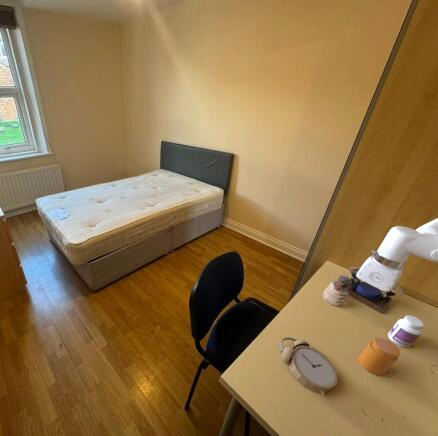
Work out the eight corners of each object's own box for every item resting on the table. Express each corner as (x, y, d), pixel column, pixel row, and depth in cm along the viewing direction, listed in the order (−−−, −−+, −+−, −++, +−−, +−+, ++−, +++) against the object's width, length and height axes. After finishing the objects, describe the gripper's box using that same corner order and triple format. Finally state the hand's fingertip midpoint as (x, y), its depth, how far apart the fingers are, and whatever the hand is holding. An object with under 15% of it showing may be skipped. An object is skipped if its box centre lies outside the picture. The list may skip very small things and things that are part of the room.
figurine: (349, 304, 88) (363, 281, 82) (336, 309, 86) (349, 286, 80) (330, 290, 93) (343, 268, 88) (318, 295, 91) (329, 272, 86)
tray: (390, 302, 88) (393, 298, 87) (381, 313, 84) (384, 309, 83) (349, 281, 98) (351, 277, 97) (340, 290, 93) (342, 286, 92)
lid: (352, 290, 91) (355, 286, 90) (359, 283, 94) (362, 279, 93) (374, 301, 86) (377, 297, 85) (380, 294, 89) (383, 289, 88)
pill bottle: (414, 348, 73) (433, 329, 68) (397, 347, 73) (414, 328, 68) (398, 332, 78) (415, 313, 73) (382, 332, 78) (397, 313, 73)
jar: (387, 367, 68) (405, 349, 63) (380, 380, 65) (398, 361, 60) (362, 351, 72) (377, 332, 68) (354, 362, 69) (369, 343, 65)
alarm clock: (322, 398, 59) (275, 342, 69) (312, 403, 62) (268, 349, 72) (347, 376, 63) (299, 327, 73) (337, 382, 66) (292, 334, 76)
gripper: (354, 250, 86) (335, 284, 95) (420, 278, 73) (391, 315, 82) (362, 243, 90) (343, 277, 99) (426, 269, 77) (397, 305, 86)
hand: (365, 294), depth 90 cm, fingers closed on lid, 6 cm apart
